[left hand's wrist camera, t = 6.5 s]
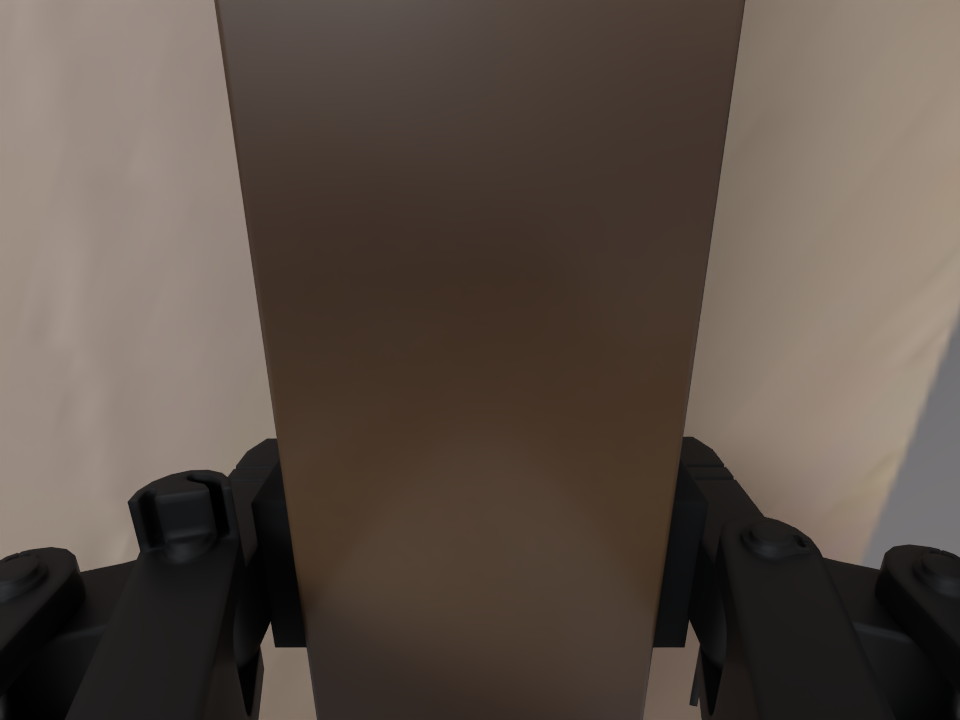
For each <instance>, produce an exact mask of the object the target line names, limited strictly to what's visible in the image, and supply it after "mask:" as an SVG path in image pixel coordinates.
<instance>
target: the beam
mask: <svg viewBox="0 0 960 720" xmlns="http://www.w3.org/2000/svg"><path fill="white" fill-rule="evenodd" d="M214 1H215V8H216V15H217V22H218V29H219V36H220V43H221V50H222V57H223V64H224V71H225V78H226V85H227V92H228V99H229V106H230V113H231V120H232V127H233V134H234V141H235V148H236V155H237V162H238V169H239V176H240V183H241V190H242V197H243V204H244V211H245V218H246V225H247V232H248V239H249V246H250V253H251V260H252V267H253V274H254V281H255V288H256V295H257V302H258V309H259V316H260V323H261V330H262V337H263V344H264V351H265V358H266V365H267V372H268V379H269V386H270V393H271V400H272V407H273V414H274V421H275V428H276V435H277V442H278V449H279V456H280V463H281V470H282V477H283V484H284V491H285V498H286V505H287V512H288V519H289V526H290V533H291V540H292V547H293V554H294V561H295V568H296V575H297V582H298V589H299V596H300V603H301V610H302V617H303V624H304V631H305V638H306V645H307V652H308V659H309V666H310V673H311V680H312V687H313V694H314V701H315V708H316V715H317V720H643V713H644V706H645V699H646V692H647V685H648V678H649V671H650V664H651V657H652V650H653V643H654V636H655V629H656V622H657V615H658V608H659V601H660V594H661V587H662V580H663V573H664V566H665V559H666V552H667V545H668V538H669V531H670V524H671V517H672V510H673V503H674V496H675V489H676V482H677V475H678V468H679V461H680V454H681V447H682V440H683V433H684V426H685V419H686V412H687V405H688V398H689V391H690V384H691V377H692V370H693V363H694V356H695V349H696V342H697V335H698V328H699V321H700V314H701V307H702V300H703V293H704V286H705V279H706V272H707V265H708V258H709V251H710V244H711V237H712V230H713V222H714V215H715V208H716V201H717V194H718V187H719V180H720V173H721V166H722V159H723V152H724V145H725V138H726V131H727V124H728V117H729V110H730V103H731V96H732V89H733V82H734V75H735V68H736V61H737V54H738V47H739V40H740V33H741V26H742V19H743V12H744V5H745V0H214Z"/></svg>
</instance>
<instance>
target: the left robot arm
mask: <svg viewBox="0 0 960 720" xmlns="http://www.w3.org/2000/svg"><path fill="white" fill-rule="evenodd" d="M128 505H129V509H130V513H131V517H132V521H133V524H134V528H135V532H136V536H137V540H138V544H139V547H140V553H139V556H138V558H137V560H134V561H130V562H127V563H123V564H118V565H113V566H108V567H103V568H99V569H94V570H89V571H84V572H80V569H79V566H78V563H77V560H76V556H75V555H74V554H72V553H71V552H70V551H68V550H67V549H61V548H54V547H48V548H40V549H32V550H27V551H23V552H21V553H16V554H13V555H10V556H7V557H5V558H4V559H2V560H0V720H258V719H259V710H260V701H261V692H262V683H263V674H264V666H263V659H262V653H261V647H260V644H261V642H262V640H263V638H264V635H265V633H266V631H267V629H268V626H269V624H270V622H271V625H272V631H273V637H274V643H275V647H307V645H306V638H305V631H304V624H303V617H302V610H301V603H300V596H299V589H298V582H297V575H296V568H295V561H294V554H293V547H292V540H291V533H290V526H289V519H288V512H287V505H286V498H285V491H284V484H283V477H282V470H281V463H280V456H279V449H278V442H277V439H266V440H264V441H263V442H261V443H260V444H258V445H257V446H255V447H253V448H252V449H250V450H249V451H247V452H246V454H245V455H244V456H243V458H242V459H241V460H240V462H239V463H238V464H237V466H236V469H234V470H233V471H232V472H231V473H230V475H229V476H228V477H227V476H225V475H224V474H223V473H220V472H216V471H211V470H190V471H185V472H180V473H176V474H171V475H168V476H166V477H163V478H161V479H158V480H156V481H153V482H151V483H150V484H148V485H146V486H145V487H143V488H142V489H140V490H138V491H137V492H136V493H135V494H134V495H133V497H132V498H131V499H130V500H129V501H128ZM689 620H690V622H691V624H692V627H693V629H694V631H695V633H696V636H697V638H698V640H699V642H700V647H699V653H698V658H697V664H696V670H695V675H694V681H693V686H692V692H691V698H690V705H692V706H697V704H698V699H700V708H701V717H702V720H960V557H958V556H956V555H955V554H952V553H949V552H947V551H944V550H943V551H941V550H940V549H936V548H932V547H925V546H917V545H902V546H895V547H893V548H891V549H890V550H889V551H887V552H886V553H885V555H884V558H883V561H882V565H881V568H880V570H878V569H874V568H869V567H864V566H859V565H854V564H849V563H844V562H839V561H835V560H831V559H828V558H824V557H822V555H821V552H820V550H819V549H818V548H817V546H816V545H815V544H814V542H813V541H812V540H811V539H810V538H809V537H808V536H806V535H805V534H804V533H802V532H801V531H799V530H798V529H797V528H795V527H792V526H790V525H788V524H786V523H783V522H781V521H779V520H775V519H771V518H767V517H764V516H763V514H762V513H761V512H760V511H759V509H758V508H757V507H756V505H755V504H754V503H753V501H752V500H751V499H750V497H749V496H748V495H747V494H746V492H745V491H744V490H743V488H742V487H741V486H740V484H739V483H738V482H737V481H736V480H734V479H733V475H732V474H731V473H730V471H729V470H728V469H727V468H726V467H724V464H723V462H722V461H721V460H720V458H719V457H718V456H717V455H716V453H715V452H714V451H713V449H711V448H709V447H708V446H706V445H705V444H703V443H702V442H700V441H698V440H697V439H695V438H694V437H683V440H682V447H681V454H680V461H679V468H678V475H677V482H676V489H675V496H674V503H673V510H672V517H671V524H670V531H669V538H668V545H667V552H666V559H665V566H664V573H663V580H662V587H661V594H660V601H659V608H658V615H657V622H656V629H655V636H654V643H653V647H685V641H686V635H687V629H688V623H689Z"/></svg>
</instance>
